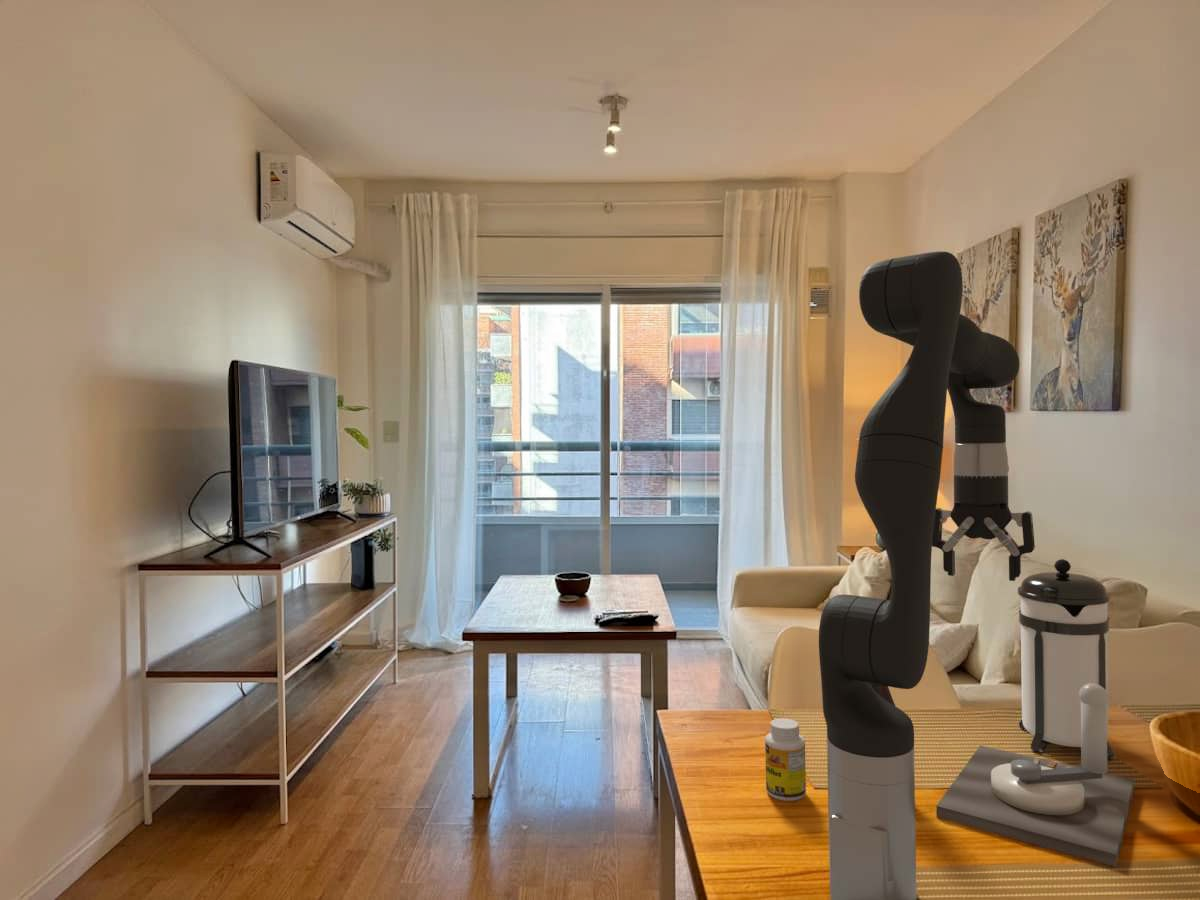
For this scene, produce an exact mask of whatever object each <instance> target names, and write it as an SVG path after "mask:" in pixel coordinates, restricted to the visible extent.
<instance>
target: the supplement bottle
mask: <svg viewBox="0 0 1200 900" xmlns="http://www.w3.org/2000/svg"><path fill="white" fill-rule="evenodd" d="M764 739H765V741H764V743H765V745H764V746H765V789H766V792H767V793H768V794H769V795H770V796H771V797H772V798H774V799H776V800H779V801H783V802H793V801H794V802H795V801H798V800H801V799H802V798H803V797H805V795H806V791H807V789H806V787H807V786H806V785H807V782H806V780H807V779H806V777H807V776H806V740H805V738H804V736H802V735H801V734H800V724H799V723H798V722H797V721H796V720H794V719H791V718H782V717H780V718H776V719H772V720H770V732H769V733H768V734H766V736H765V738H764Z"/></svg>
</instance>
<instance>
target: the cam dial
mask: <svg viewBox="0 0 1200 900" xmlns="http://www.w3.org/2000/svg"><path fill="white" fill-rule="evenodd" d="M1079 698H1080V700H1081V747H1080V753H1081V755H1080V761H1081V762H1080V763H1081V766H1077V767H1073V768H1061V769H1053V768H1049V767H1045V766H1040V765H1038V764H1037V763H1034V762H1032V761H1027V760H1013V761H1012V762H1011V763H1008V764H1002V765H999V766H997V767H995V768H993V770H992V771H991V789H992V792H993V793H994V794H995V796H997V797H998V798H999V799H1000V800H1002V801H1004V802H1005V803H1007V804H1009V805H1011V806H1014V807H1016V808H1019V809H1022V810H1026V811H1029V812H1034V813H1039V814H1045V815H1070V814H1075V813H1077V812H1079V811H1081V810H1082V809H1083V808H1084V787H1083V785H1082V784H1081V783H1080V782H1079V781H1078V780H1087V779H1099V778H1102V774H1103V773H1108V760H1107V756H1108V753H1107V741H1108V737H1107V703H1108V704H1109V693H1108V694H1107V692H1106V690H1105V689H1104V688H1103V687H1101V686H1100V685H1097V684H1093V683H1089V684H1086V685H1084V686H1082V687H1081V689H1080V691H1079Z"/></svg>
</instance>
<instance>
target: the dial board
mask: <svg viewBox="0 0 1200 900" xmlns="http://www.w3.org/2000/svg"><path fill="white" fill-rule="evenodd" d="M1013 760H1027V761H1032V762H1034V763H1037V764H1038V765H1040V766H1045V767H1049V768H1053V769H1061V768H1073V767H1078V766H1076V765H1071V764H1066V763H1063V762H1059V761H1058V762H1057V761H1054V760H1048V759H1044V758H1040V757H1035V756H1029V755H1025V754H1021V753H1016V752H1012V751H1006V750H1003V749H999V748H994V747H990V746H989V747H988V746H984V745H979V746H978V747H977V749H976V750H975V752H974V753H973V755H972V756H971V757H970V759H969V760H968V761H967V763H966V764H965V766H964V767H963V768H962V769H961V771H960V772H959V774H958V775H957V776H956V778H955V780H954V781H953V782H952V783H951V785H950V786H949V788H948V789H947V791H945V793H944V795H943V796H942V797H941V799H940V800H939V802H938V803H937V805H936V807H935V810H936V812H935V813H936V814H935V815H936V818H939V819H943V820H946V821H949V822H953V823H957V824H959V825H960V824H961V825H963V826H968V827H972V828H974V829H978V830H982V831H985V832H989V833H993V834H997V835H999V836H1003V837H1007V838H1010V839H1014V840H1018V841H1021V842H1025V843H1028V844H1032V845H1035V846H1039V847H1043V848H1046V849H1050V850H1054V851H1057V852H1061V853H1064V854H1068V855H1071V856H1074V857H1079V858H1081V857H1082V859H1084V860H1085V859H1087V860H1089V861H1093V862H1096V861H1097V863H1099V862H1101V863H1100V864H1103V863H1104V864H1103V865H1106V864H1108V865H1107V866H1110V865H1112V866H1111V867H1114V866H1115V867H1114V868H1117V866H1118V861H1119V857H1120V852H1121V848H1122V844H1123V839H1124V835H1125V831H1126V826H1127V821H1128V818H1129V813H1130V808H1131V804H1132V799H1133V795H1134V791H1135V779H1134V778H1130V777H1126V776H1122V775H1118V774H1113V773H1108V772H1107V773H1103V774H1102V778H1099V779H1087V780H1078V781H1079V782H1080V783H1081V784H1082V785H1083V787H1084V808H1083V809H1082V810H1081V811H1079V812H1077V813H1075V814H1070V815H1045V814H1039V813H1034V812H1029V811H1026V810H1022V809H1019V808H1016V807H1014V806H1011V805H1009V804H1007V803H1005V802H1004V801H1002V800H1000V799H999V798H998V797H997V796H995V794H994V793H993V792H992V789H991V771H992V770H993V768H995V767H997V766H999V765H1002V764H1008V763H1011V762H1012V761H1013Z"/></svg>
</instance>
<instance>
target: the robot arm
mask: <svg viewBox="0 0 1200 900" xmlns="http://www.w3.org/2000/svg"><path fill="white" fill-rule="evenodd" d="M860 279H861V280H860V283H859V290H858V293H859V295H858V300H859V307H860V310H861V314H862V317H863V318H864V320H865V322H866V324H867V325H868V326H869V327H870V329H873V330H874V331H875V332H877V333H880V334H882V335H884V336H887V337H889V338H894V339H895V340H898V341H900V342H903V343H904V344H907V345H909V346H912V347H913V348H912V350H911V353H910V356H909V357H908V359H907V362H906V363H905V364H904V366H903V368H902V370H901V371H900V373H899V374H898V375H897V377H896V378H895V379H894V380H893V382H891V384H890V385H889V387H888V388H887V389H886V390H885V391H884V392H883V394H882V395H881V396H880V398H879V399H878V400H877V402H875V404H874V406H873V407H872V408H871V410H869V412H868V414H867V415H866V418H865V419H864V421H863V423H862V425H861V429H860V431H859V436H858V444H857V445H858V446H857V452H856V453H857V454H856V460H855V462H856V463H855V470H854V482H855V486H856V490H857V493H858V496H859V498H860V500H861V502H862V504H863V506H864V509H865V510H866V512H867V514H868V517H869V518H870V520H871V522H872V523H873V526H874V527H875V529H876V530H877V533H878V535H879V538H880V539H881V542H882V543H883V547H884V549H885V552H886V555H887V558H888V560H889V561H888V562H889V567H890V577H891V593H890V594H891V596H890V599H887V598H886V599H884V598H876V597H868V596H859V595H855V594H853V595H852V594H836V595H834V596H832V597H831V598H829V599H828V601H827V602H826V604H825V605H824V607H823V610H822V613H821V616H820V621H819V625H818V626H819V628H818V655H819V668H820V678H821V679H820V680H821V681H820V682H821V683H820V684H821V699H822V712H823V716H824V717H823V718H824V719H825V724H826V741H827V742H826V744H827V749H826V751H827V754H826V755H827V763H826V764H827V765H826V766H827V799H828V800H827V801H828V802H827V813H828V854H829V856H828V857H829V860H828V861H829V865H828V866H829V889H830V891H829V892H830V893H829V894H830V900H917V898H918V895H917V855H916V854H917V850H916V849H917V847H916V839H917V838H916V799H915V798H916V795H915V794H916V793H915V792H916V787H915V786H916V784H915V727H914V723H913V721H912V719H911V717H910V716H909V715H908V714H907V713H906V712H904V711H903V710H902V709H901V708H899V707H897V706H896V705H895V706H896V707H895V706H894V705H892V704H891V703H889V702H888V701H886V700H885V699H883V698H882V697H881V696H880V695H878V694H877V693H876V692H875V691H874V690H873V689H872V687H871V686H870V685H869V684H868V682H869V683H874V684H879V685H884V686H888V688H889V687H891V688H895V689H902V690H911V689H914V688H915V687H916V686H917V685H918V684H919V683H920V681H921V680H922V679H923V675H924V673H925V671H926V667H927V663H928V662H927V661H928V655H929V648H930V646H929V645H930V632H931V631H930V628H931V627H930V624H931V587H932V586H931V584H932V583H931V578H932V577H931V574H932V572H931V571H932V549H933V548H937V549H940V550H941V551H942V552H943V553H942V560H943V561H942V562H943V566H942V567H943V570H944V572H947V576H950V577H954V576H955V575H956V551H955V550H954V548H955V546H957V544H958V543H959V542H960V541H961V540H962V539H963V538H964V537H967V538H968V539H973V540H974V539H978V538H980V539H983V540H992V539H996V538H997V540H998V541H999V542H1000V544H1001V545H1002V546H1004V547H1005V548H1006V550H1007V551H1008V553H1009V554H1010V555H1009V556H1008V580H1009V581H1010V582H1011V581H1012V582H1015V581H1016V579H1017V578H1019V577H1020V576H1021V572H1022V566H1021V565H1022V562H1021V560H1022V555H1025V554H1030V553H1033V551H1034V550H1035V549H1036V545H1035V534H1034V533H1035V532H1034V521H1033V513H1032V512H1031V511H1029V510H1028V511H1024V512H1011V510H1010V507H1009V469H1010V467H1009V459H1008V450H1007V440H1006V439H1007V433H1006V432H1007V431H1006V427H1007V426H1006V418H1007V416H1006V411H1005V409H1004V407H1002V406H1000V405H998V404H993V403H985V402H981V401H978V400H977V399H975V398H974V397H973V395H972V393H971V390H974V389H975V390H977V389H999V388H1003V387H1006V386H1009V385H1010V384H1011V383H1012V382H1014V380H1016V379H1017V376H1018V374H1019V372H1020V364H1021V363H1020V359H1019V354H1018V352H1017V350H1016V348H1015V347H1014V346H1013V344H1012V343H1011V342H1010V341H1008V340H1006V338H1002V337H1000V336H997V335H995V334H993V333H989V332H985V331H983V330H982V329H981V328H980V327H979V326H978V325H977V324H976V323H975V322H974V321H973V320H972V319H970V318H969V317H968V316H967V315H964V314H961V309H962V300H963V289H964V287H963V284H964V283H963V273H962V268H961V264H960V262H959V259H958V258H957V257H956V255H954V254H953V253H951V252H949V251H933V252H932V251H931V252H924V253H919V254H912V255H907V256H899V257H893V258H887V259H884V260H880V261H878V262H875V263H873V264H871V265H870V266H868V267H867V268H866V270H865V271H864V272H863V274H862V276H861V278H860ZM947 392H948V393H947ZM947 394H948V395H949V399H950V402H951V406H952V412H953V417H954V453H953V508H952V510H949V509H948V510H947V509H942V508H940V507H937V505H938V504H937V502H938V494H939V487H940V481H941V471H942V462H943V461H942V460H943V450H944V435H945V420H946V406H947ZM948 518H951V520H952V521H953V522H954V524H955V525H956V526H957V529H956V530H955V531H954V532H953V533H952V535H950V537H949V539H948V540H944V539H943V537H942V536H943V524H945V523H947V521H948ZM1012 520H1013V521H1015V523H1016V526H1018V527H1020V528H1022V541H1023V544H1021V545H1019V544H1018V543H1017V542H1016V541H1015V539H1014V538H1013V536H1012V535H1011V534H1010V532H1009V531H1008V530H1007V529H1006V527H1007V526H1008V525H1009V523H1011V521H1012Z"/></svg>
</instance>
